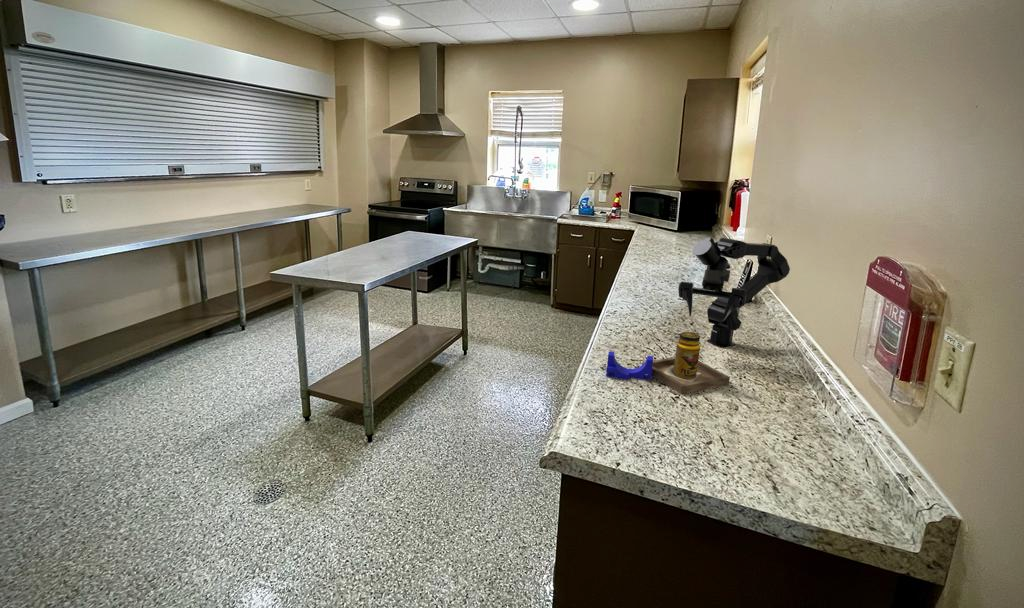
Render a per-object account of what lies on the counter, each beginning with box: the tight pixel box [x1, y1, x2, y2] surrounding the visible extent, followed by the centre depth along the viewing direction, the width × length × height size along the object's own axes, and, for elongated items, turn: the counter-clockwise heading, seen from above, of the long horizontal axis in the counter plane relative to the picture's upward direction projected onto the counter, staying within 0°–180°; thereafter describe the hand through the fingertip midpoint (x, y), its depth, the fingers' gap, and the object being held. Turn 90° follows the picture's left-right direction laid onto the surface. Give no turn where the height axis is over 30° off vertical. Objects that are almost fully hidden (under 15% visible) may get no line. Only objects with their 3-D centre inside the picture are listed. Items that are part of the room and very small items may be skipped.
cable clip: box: [605, 351, 654, 381], centre depth 138 cm, size 12×4×6 cm, turn 76°
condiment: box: [663, 331, 701, 382], centre depth 138 cm, size 7×8×12 cm
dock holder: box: [641, 356, 731, 395], centre depth 139 cm, size 16×16×2 cm
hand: (706, 317), depth 147 cm, fingers open, 9 cm apart
